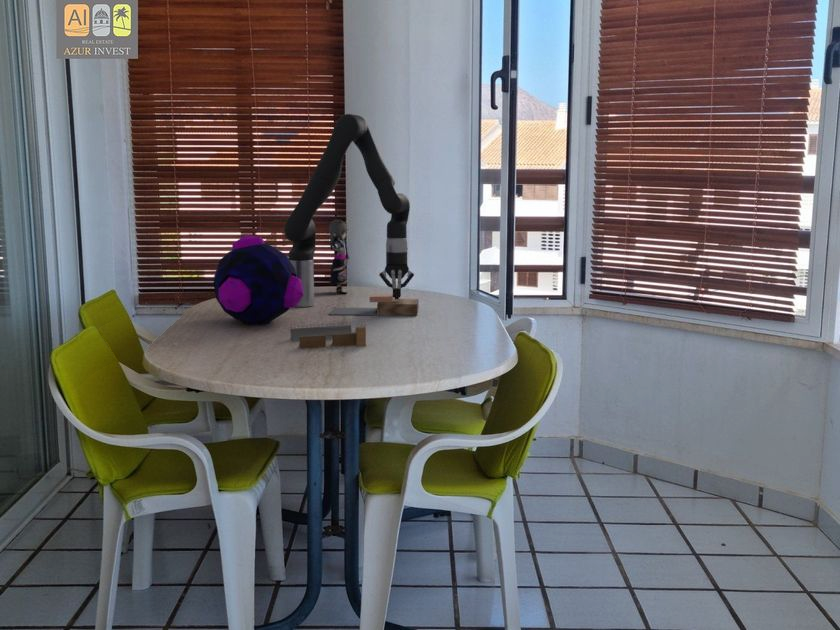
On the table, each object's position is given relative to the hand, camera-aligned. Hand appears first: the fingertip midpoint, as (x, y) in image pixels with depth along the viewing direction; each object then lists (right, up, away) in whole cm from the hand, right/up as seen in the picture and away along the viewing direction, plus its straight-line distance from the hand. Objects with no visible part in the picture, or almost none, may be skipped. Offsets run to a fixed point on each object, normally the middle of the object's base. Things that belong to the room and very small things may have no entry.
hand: (396, 298), depth 323 cm
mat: (-15, -5, +1) cm, 16 cm away
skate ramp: (-18, -16, -56) cm, 61 cm away
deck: (+1, -5, +1) cm, 5 cm away
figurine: (-25, +2, +42) cm, 49 cm away
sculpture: (-46, -9, -21) cm, 52 cm away
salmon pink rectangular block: (-5, -1, +1) cm, 6 cm away
